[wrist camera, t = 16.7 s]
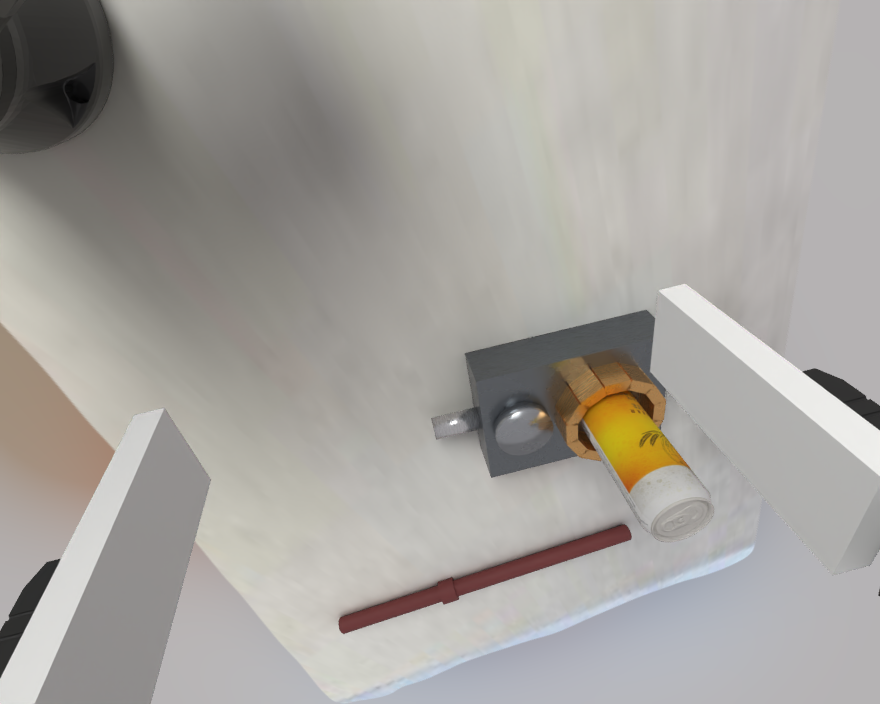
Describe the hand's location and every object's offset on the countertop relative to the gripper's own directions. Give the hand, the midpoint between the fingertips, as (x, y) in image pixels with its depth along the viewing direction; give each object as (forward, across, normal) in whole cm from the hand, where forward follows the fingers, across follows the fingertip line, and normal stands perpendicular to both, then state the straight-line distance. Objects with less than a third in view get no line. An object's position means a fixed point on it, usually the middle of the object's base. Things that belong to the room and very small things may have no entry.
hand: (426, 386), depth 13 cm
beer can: (+27, +18, -29) cm, 44 cm away
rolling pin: (+32, +2, -62) cm, 70 cm away
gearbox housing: (+32, +12, -29) cm, 45 cm away
